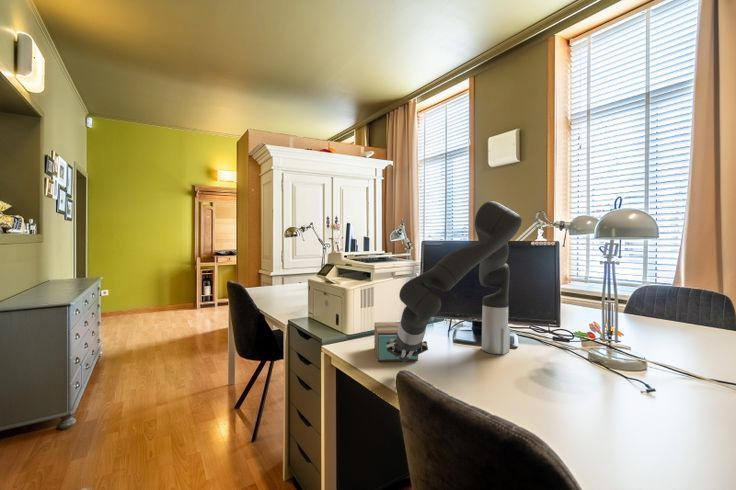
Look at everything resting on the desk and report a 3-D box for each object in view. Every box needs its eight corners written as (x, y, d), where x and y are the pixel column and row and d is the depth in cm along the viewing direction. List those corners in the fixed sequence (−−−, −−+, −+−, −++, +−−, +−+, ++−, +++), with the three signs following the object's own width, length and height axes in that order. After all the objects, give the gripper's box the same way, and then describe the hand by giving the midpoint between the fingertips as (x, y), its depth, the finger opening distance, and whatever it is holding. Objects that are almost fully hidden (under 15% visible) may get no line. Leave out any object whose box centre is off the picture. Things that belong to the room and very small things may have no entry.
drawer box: (417, 360, 125) (418, 332, 125) (378, 361, 124) (378, 333, 124) (410, 347, 139) (410, 321, 139) (374, 348, 138) (374, 322, 138)
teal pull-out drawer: (418, 359, 123) (418, 335, 123) (379, 360, 122) (379, 336, 122) (410, 346, 137) (410, 325, 137) (375, 347, 136) (375, 325, 136)
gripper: (388, 344, 98) (383, 371, 111) (436, 343, 99) (425, 370, 112) (386, 320, 103) (381, 348, 116) (431, 319, 104) (422, 347, 117)
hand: (403, 359), depth 114 cm, fingers closed
